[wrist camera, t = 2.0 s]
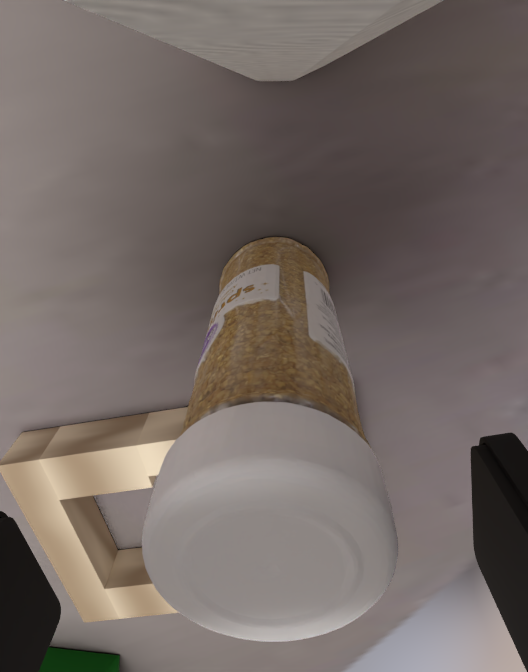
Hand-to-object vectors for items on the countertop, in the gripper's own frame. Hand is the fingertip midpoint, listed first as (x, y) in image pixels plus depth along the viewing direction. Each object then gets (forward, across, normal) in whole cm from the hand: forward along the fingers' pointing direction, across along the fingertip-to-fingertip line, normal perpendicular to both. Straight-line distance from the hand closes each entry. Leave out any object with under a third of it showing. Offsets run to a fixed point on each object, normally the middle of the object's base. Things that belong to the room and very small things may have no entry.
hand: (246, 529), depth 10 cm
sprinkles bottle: (+12, -1, -1) cm, 12 cm away
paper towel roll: (+12, -3, -12) cm, 17 cm away
